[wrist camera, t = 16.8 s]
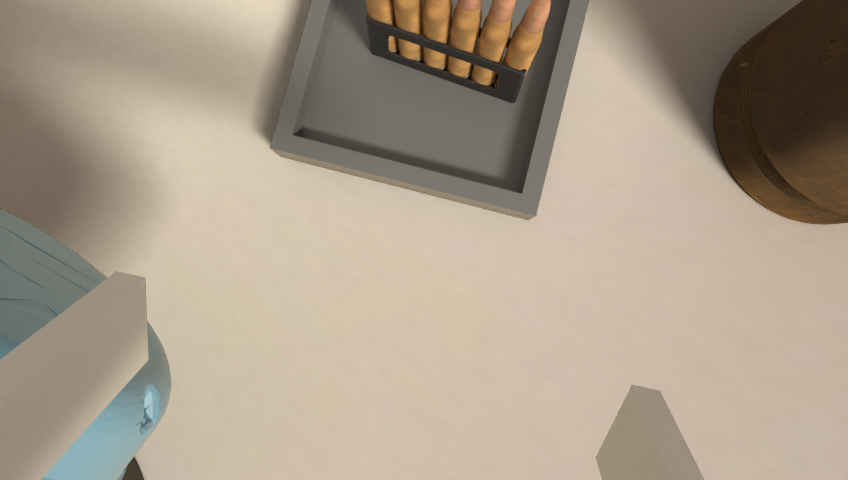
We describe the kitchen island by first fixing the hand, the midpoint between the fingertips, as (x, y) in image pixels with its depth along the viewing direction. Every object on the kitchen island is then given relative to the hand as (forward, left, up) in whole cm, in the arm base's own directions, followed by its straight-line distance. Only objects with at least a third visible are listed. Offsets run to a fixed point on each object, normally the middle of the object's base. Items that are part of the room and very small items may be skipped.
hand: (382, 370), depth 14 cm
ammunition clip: (-2, +17, -21) cm, 27 cm away
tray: (-3, +18, -21) cm, 28 cm away
